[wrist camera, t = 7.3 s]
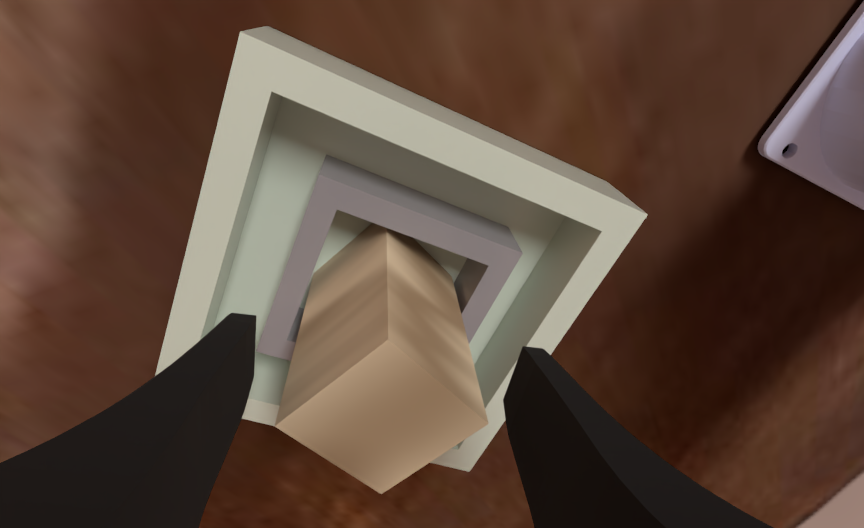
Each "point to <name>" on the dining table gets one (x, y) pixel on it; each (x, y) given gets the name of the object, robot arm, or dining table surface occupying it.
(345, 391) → the tan wooden block
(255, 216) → the square tray
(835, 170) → the robot arm
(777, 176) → the dining table surface
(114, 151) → the dining table surface
